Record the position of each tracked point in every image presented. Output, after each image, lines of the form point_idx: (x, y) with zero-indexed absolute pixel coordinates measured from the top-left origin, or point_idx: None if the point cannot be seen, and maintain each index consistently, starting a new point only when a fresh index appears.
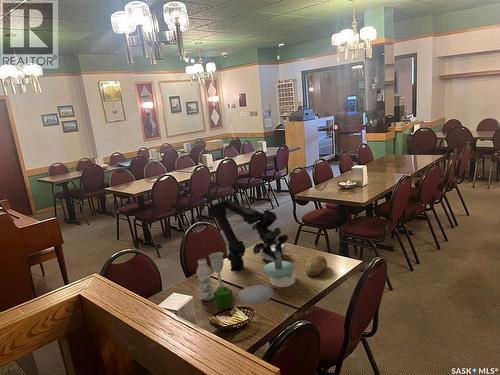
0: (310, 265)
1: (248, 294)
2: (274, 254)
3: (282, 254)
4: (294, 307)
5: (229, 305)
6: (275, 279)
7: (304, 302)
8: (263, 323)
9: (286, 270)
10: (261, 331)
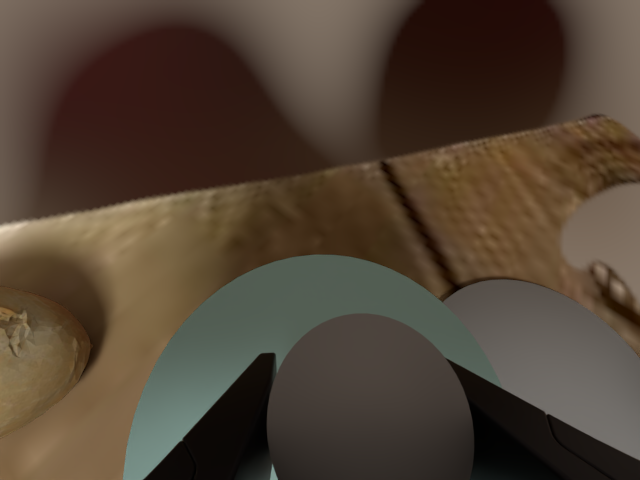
0: (4, 331)
1: (600, 431)
2: (453, 396)
3: (248, 372)
4: (389, 171)
5: None
6: None
7: (331, 172)
8: (545, 167)
9: (305, 297)
10: (560, 142)
